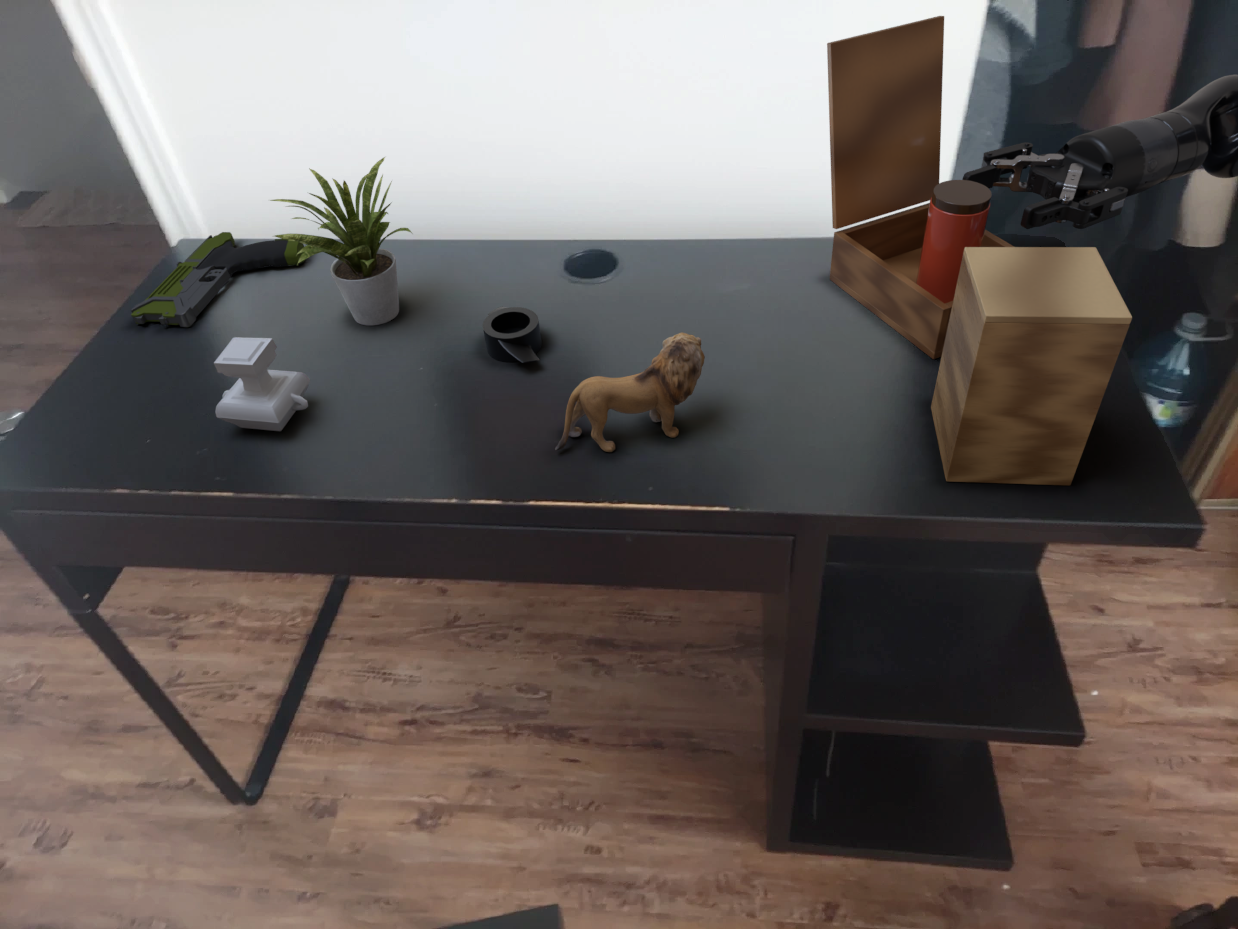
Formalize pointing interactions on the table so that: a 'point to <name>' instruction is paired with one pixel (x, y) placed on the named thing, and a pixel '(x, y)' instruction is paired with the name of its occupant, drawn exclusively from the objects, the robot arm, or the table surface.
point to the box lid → (885, 119)
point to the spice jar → (951, 234)
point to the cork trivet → (1044, 285)
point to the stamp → (258, 386)
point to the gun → (209, 277)
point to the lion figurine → (638, 391)
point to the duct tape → (512, 334)
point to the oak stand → (1018, 394)
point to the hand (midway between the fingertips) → (993, 201)
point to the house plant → (355, 249)
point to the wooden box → (894, 275)
